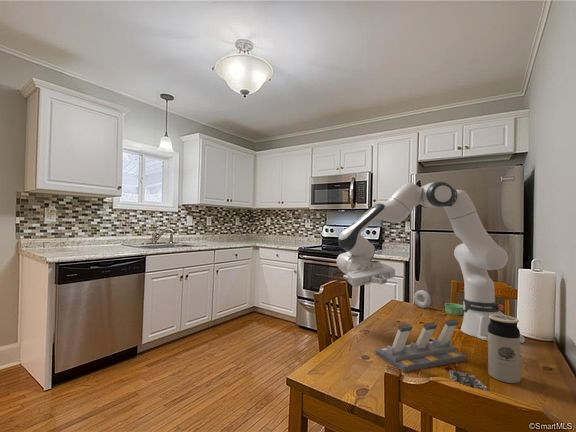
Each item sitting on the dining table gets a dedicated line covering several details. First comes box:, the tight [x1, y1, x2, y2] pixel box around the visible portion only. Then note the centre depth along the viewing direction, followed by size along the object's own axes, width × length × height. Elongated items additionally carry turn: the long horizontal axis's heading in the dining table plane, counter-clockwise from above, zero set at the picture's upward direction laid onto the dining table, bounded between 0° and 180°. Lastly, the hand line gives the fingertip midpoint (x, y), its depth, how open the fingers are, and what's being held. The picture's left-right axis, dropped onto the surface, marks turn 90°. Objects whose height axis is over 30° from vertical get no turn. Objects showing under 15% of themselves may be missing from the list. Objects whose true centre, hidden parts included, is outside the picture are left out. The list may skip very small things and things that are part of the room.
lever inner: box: [437, 318, 460, 345], centre depth 106 cm, size 2×4×11 cm, turn 110°
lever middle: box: [414, 321, 438, 349], centre depth 103 cm, size 2×4×11 cm, turn 110°
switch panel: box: [375, 338, 468, 373], centre depth 105 cm, size 14×27×5 cm, turn 110°
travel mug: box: [487, 314, 521, 384], centre depth 91 cm, size 8×8×18 cm
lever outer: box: [391, 323, 413, 352], centre depth 100 cm, size 2×4×11 cm, turn 110°
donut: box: [413, 289, 432, 309], centre depth 169 cm, size 10×4×10 cm, turn 32°
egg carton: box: [448, 369, 489, 392], centre depth 83 cm, size 11×8×4 cm
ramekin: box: [444, 302, 464, 316], centre depth 159 cm, size 9×9×4 cm
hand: (384, 282), depth 114 cm, fingers closed
